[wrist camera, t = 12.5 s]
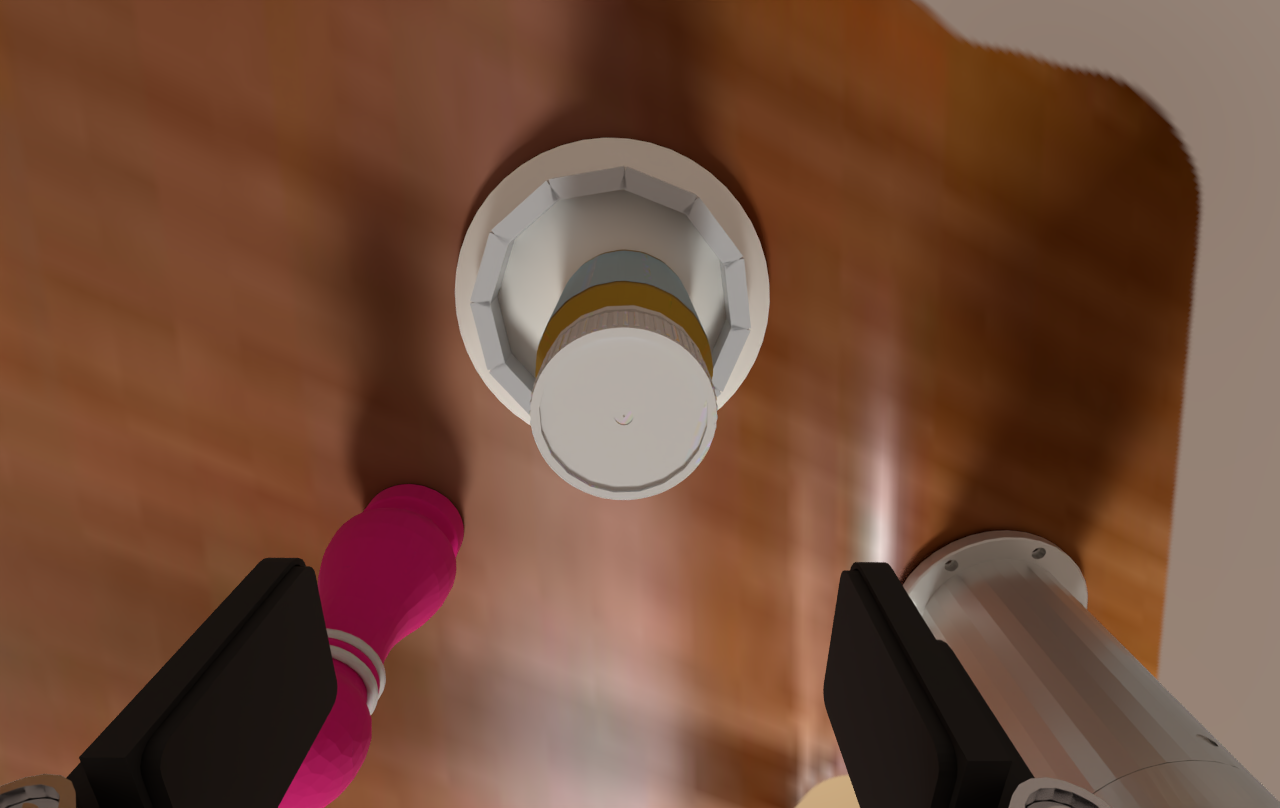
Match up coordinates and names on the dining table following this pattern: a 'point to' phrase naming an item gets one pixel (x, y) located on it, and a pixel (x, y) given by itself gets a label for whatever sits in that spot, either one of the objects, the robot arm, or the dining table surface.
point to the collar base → (594, 224)
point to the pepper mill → (374, 619)
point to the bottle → (623, 380)
